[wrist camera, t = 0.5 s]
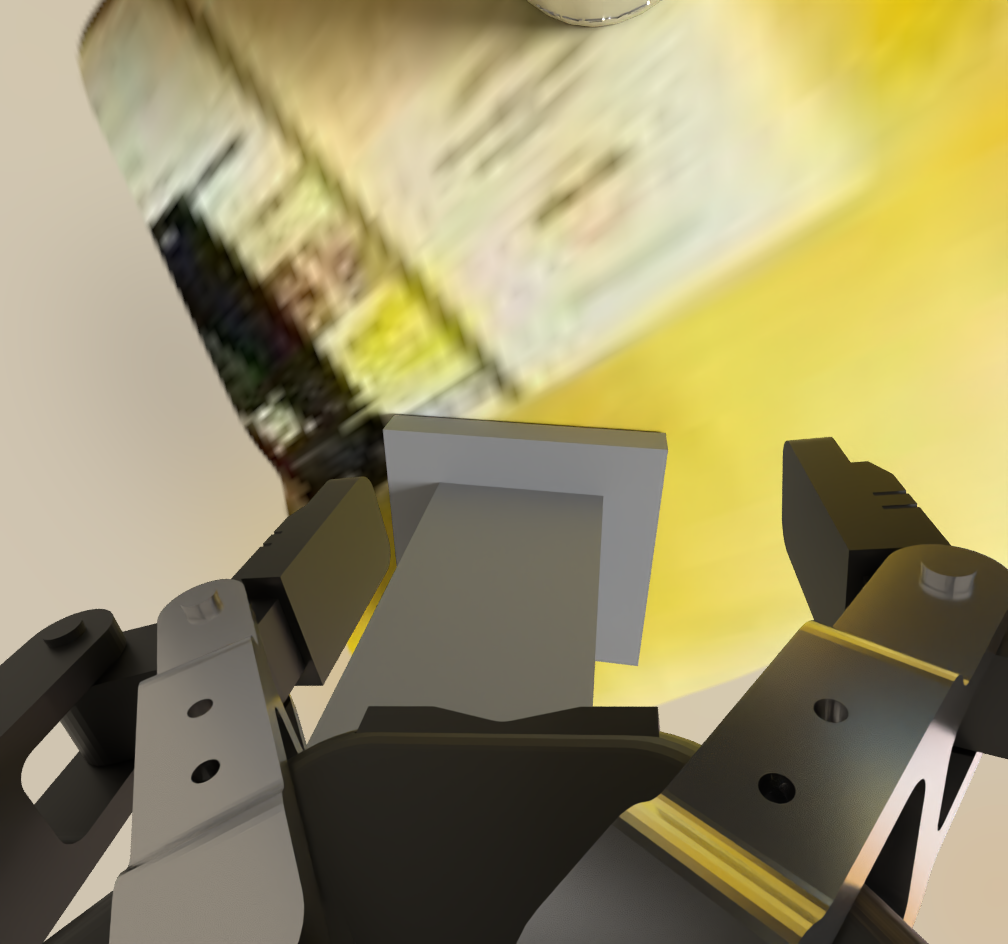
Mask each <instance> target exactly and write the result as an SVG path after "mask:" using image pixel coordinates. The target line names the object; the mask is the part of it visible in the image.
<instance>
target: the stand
mask: <svg viewBox="0 0 1008 944" xmlns="http://www.w3.org/2000/svg"><path fill="white" fill-rule="evenodd" d="M383 435H384V445H385V455H386V465H387V475H388V485H389V494H390V504H391V514H392V524H393V534H394V544H395V553H396V563H397V568H396V570H395V572H394V574H393V576H392V578H391V580H390V582H389V584H388V586H387V588H386V590H385V592H384V594H383V596H382V597H381V599H380V601H379V603H378V605H377V607H376V609H375V611H374V613H373V615H372V617H371V619H370V621H369V623H368V625H367V627H366V629H365V631H364V633H363V635H362V637H361V639H360V641H359V643H358V645H357V647H356V649H355V651H354V653H353V655H352V657H351V659H350V661H349V663H348V665H347V667H346V669H345V671H344V673H343V675H342V677H341V679H340V680H339V683H338V684H337V687H336V688H335V690H334V692H333V694H332V696H331V698H330V700H329V702H328V704H327V706H326V708H325V710H324V712H323V714H322V717H321V718H320V720H319V722H318V724H317V726H316V728H315V730H314V732H313V734H312V736H311V738H310V740H309V742H308V744H307V748H309V747H311V746H313V745H315V744H317V743H319V742H321V741H324V740H326V739H329V738H331V737H333V736H336V735H339V734H342V733H346V732H349V731H353V730H357V729H358V728H359V725H360V723H361V721H362V719H363V717H364V714H365V712H366V710H367V708H368V706H435V707H439V708H443V709H448V710H452V711H456V712H460V713H464V714H468V715H473V716H477V717H481V718H485V719H489V720H493V721H499V722H505V721H512V720H517V719H522V718H527V717H532V716H537V715H542V714H546V713H551V712H556V711H561V710H566V709H571V708H576V707H593V690H594V670H595V661H601V662H609V663H617V664H626V665H634V666H638V660H639V653H640V646H641V639H642V632H643V625H644V617H645V610H646V603H647V596H648V589H649V582H650V575H651V567H652V560H653V553H654V546H655V539H656V532H657V524H658V517H659V510H660V503H661V496H662V489H663V481H664V474H665V467H666V460H667V453H668V447H667V440H666V433H657V432H642V431H627V430H613V429H598V428H583V427H568V426H554V425H539V424H524V423H509V422H495V421H480V420H465V419H450V418H436V417H421V416H406V415H394V416H393V417H392V418H391V420H390V421H389V422H388V424H387V425H386V426H385V427H384V429H383Z"/></svg>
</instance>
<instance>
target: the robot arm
mask: <svg viewBox="0 0 1008 944" xmlns="http://www.w3.org/2000/svg"><path fill="white" fill-rule="evenodd" d="M527 1H528V2H529V3H531V4H532V5H534V6H535V7H536V8H538V9H539V10H541V11H542V12H544V13H545V14H546V15H548V16H550V17H553V18H555V19H558V20H560V21H563V22H566V23H568V24H572V25H581V26H591V27H597V26H603V25H610V24H617V23H620V22H623V21H625V20H628V19H630V18H633V17H635V16H638V15H640V14H642V13H644V12H645V11H647V10H648V9H650V8H651V7H653V6H654V5H656V4H657V3H658V2H660V1H661V0H527ZM782 527H783V536H784V542H785V546H786V550H787V553H788V555H789V558H790V560H791V563H792V565H793V568H794V570H795V573H796V575H797V578H798V580H799V583H800V585H801V588H802V590H803V593H804V596H805V598H806V601H807V603H808V606H809V608H810V611H811V613H812V616H813V618H814V620H811V621H808V622H807V623H805V624H804V625H803V626H802V627H801V628H800V629H799V630H798V631H797V633H796V634H795V635H794V636H793V637H792V639H791V640H790V641H789V642H788V643H787V644H786V646H785V647H784V648H783V649H782V650H781V652H780V653H779V654H778V655H777V656H776V658H775V659H774V660H773V661H772V662H771V663H770V665H769V666H768V667H767V668H766V669H765V671H764V672H763V673H762V674H761V675H760V677H759V678H758V679H757V680H756V681H755V683H754V684H753V685H752V686H751V687H750V688H749V690H748V691H747V692H746V693H745V694H744V696H743V697H742V698H741V699H740V701H739V702H738V703H737V704H736V705H735V706H734V707H733V709H732V710H731V711H730V712H729V713H728V715H727V716H726V717H725V718H724V719H723V721H722V722H721V723H720V724H719V725H718V727H717V728H716V729H715V730H714V731H713V733H712V734H711V735H710V736H709V737H708V738H707V740H706V741H705V742H704V743H703V744H702V745H700V744H698V743H696V742H694V741H691V740H688V739H685V738H682V737H679V736H676V735H672V734H668V733H664V732H661V731H660V726H659V715H658V707H576V708H571V709H566V710H561V711H556V712H551V713H546V714H542V715H537V716H532V717H527V718H522V719H517V720H512V721H505V722H499V721H493V720H489V719H485V718H481V717H477V716H473V715H468V714H464V713H460V712H456V711H452V710H448V709H443V708H439V707H435V706H368V708H367V710H366V712H365V714H364V717H363V719H362V721H361V723H360V725H359V728H358V729H357V730H353V731H349V732H346V733H342V734H339V735H336V736H333V737H331V738H329V739H326V740H324V741H321V742H319V743H317V744H315V745H313V746H311V747H309V748H307V745H306V741H305V738H304V734H303V731H302V727H301V724H300V720H299V717H298V714H297V710H296V707H295V705H294V702H293V700H292V698H291V695H290V692H291V691H292V689H293V687H294V686H323V685H324V683H325V681H326V679H327V677H328V676H329V674H330V672H331V670H332V669H333V667H334V665H335V663H336V661H337V660H338V658H339V656H340V654H341V652H342V651H343V649H344V647H345V645H346V644H347V642H348V640H349V638H350V636H351V635H352V633H353V631H354V629H355V628H356V626H357V624H358V622H359V620H360V619H361V617H362V615H363V613H364V611H365V610H366V608H367V606H368V604H369V603H370V601H371V599H372V597H373V595H374V594H375V592H376V590H377V588H378V586H379V585H380V583H381V581H382V579H383V578H384V576H385V574H386V572H387V570H388V567H389V563H390V544H389V539H388V536H387V533H386V529H385V526H384V522H383V519H382V516H381V512H380V509H379V506H378V502H377V499H376V495H375V492H374V489H373V486H372V484H371V482H370V481H369V479H368V478H366V477H353V478H341V479H330V480H328V481H327V482H326V483H325V484H324V486H323V487H322V488H321V489H320V490H319V491H318V492H317V493H316V495H315V496H314V497H313V498H312V499H311V500H310V501H309V502H308V504H307V505H305V506H304V507H302V508H301V509H299V510H298V511H296V512H295V513H293V514H292V515H290V516H289V517H287V518H286V519H285V520H284V522H283V523H282V524H281V525H280V526H279V527H278V528H277V529H276V530H275V531H274V535H271V536H270V537H269V538H268V539H267V540H266V541H265V542H264V543H263V547H260V548H259V549H258V550H257V551H256V552H255V553H254V554H253V556H252V557H251V558H250V559H249V560H248V561H247V562H246V563H245V564H244V566H242V568H241V569H240V570H239V571H238V572H237V573H236V574H235V575H234V576H233V578H232V579H220V580H215V581H211V582H207V583H204V584H201V585H199V586H196V587H194V588H191V589H190V590H188V591H186V592H184V593H182V594H181V595H179V596H178V597H176V598H175V599H173V600H172V601H171V602H170V603H169V604H168V605H166V607H165V608H164V609H163V610H162V611H161V613H160V615H159V617H158V621H157V623H156V624H152V625H149V626H144V627H140V628H136V629H132V630H128V631H124V632H122V631H121V629H120V627H119V625H118V623H117V622H116V620H115V618H114V616H113V614H112V613H111V612H110V611H108V610H105V609H93V610H87V611H83V612H80V613H76V614H73V615H71V616H68V617H66V618H63V619H61V620H59V621H57V622H55V623H54V624H51V625H50V626H48V627H46V628H45V629H43V630H42V631H40V632H39V633H37V634H36V635H35V636H34V637H32V638H31V639H30V640H29V641H28V642H27V643H25V644H24V645H23V646H22V647H21V648H20V649H19V650H17V651H16V652H15V653H14V654H13V655H12V656H11V657H9V658H8V659H7V660H6V661H5V662H4V663H3V664H1V665H0V944H928V943H927V942H926V941H925V940H924V939H923V938H922V937H921V936H920V935H919V934H917V932H915V931H914V930H913V929H912V928H913V925H914V923H915V920H916V917H917V915H918V912H919V909H920V906H921V904H922V901H923V897H924V894H925V891H926V888H927V884H928V881H929V877H930V874H931V871H932V868H933V865H934V862H935V860H936V857H937V855H938V852H939V850H940V848H941V845H942V843H943V841H944V839H945V837H946V834H947V832H948V830H949V827H950V826H951V823H952V821H953V819H954V817H955V815H956V812H957V810H958V808H959V806H960V803H961V801H962V799H963V797H964V795H965V792H966V790H967V788H968V786H969V784H970V781H971V779H972V777H973V775H974V773H975V770H976V768H977V766H978V764H979V762H980V759H981V757H982V754H983V753H985V754H989V755H993V756H997V757H1001V758H1005V759H1008V569H1007V568H1005V567H1004V566H1003V565H1002V564H1000V563H999V562H997V561H995V560H994V559H992V558H990V557H988V556H986V555H983V554H980V553H978V552H975V551H972V550H968V549H965V548H960V547H955V546H951V545H950V544H949V542H948V541H947V540H946V539H945V538H944V536H943V535H942V534H941V533H940V531H939V530H938V529H937V528H936V526H935V525H934V524H933V523H932V522H931V520H930V519H929V518H928V517H927V515H926V514H925V513H924V512H923V511H922V509H921V508H920V507H917V503H916V502H915V501H914V500H913V498H912V497H911V496H910V495H909V494H906V490H905V489H904V487H903V486H902V485H901V484H900V482H899V481H898V480H897V479H896V477H895V476H894V475H893V474H892V473H890V472H888V471H886V470H884V469H882V468H880V467H878V466H876V465H874V464H872V463H870V462H868V461H865V462H852V463H851V462H850V461H849V460H848V458H847V457H846V455H845V454H844V453H843V451H842V450H841V448H840V447H839V446H838V444H837V443H836V441H835V440H834V439H833V438H832V437H824V438H813V439H801V440H790V441H786V442H785V444H784V448H783V482H782ZM59 721H60V722H61V723H62V725H63V726H64V728H65V729H66V731H67V732H68V734H69V736H70V737H71V739H72V740H73V742H74V743H75V745H76V746H77V748H78V749H79V752H78V753H77V755H76V756H75V757H74V758H73V759H72V760H71V762H70V763H69V764H68V765H67V766H66V768H65V769H64V770H63V771H62V772H61V774H60V775H59V776H58V777H57V778H56V779H55V781H54V782H53V783H52V784H51V785H50V787H49V788H48V789H47V790H46V791H45V793H44V794H43V795H42V796H41V797H40V799H39V800H38V801H37V802H36V803H35V804H33V803H32V801H31V800H30V799H29V797H28V796H27V795H26V793H25V792H24V790H23V788H22V785H21V773H22V768H23V765H24V763H25V761H26V759H27V757H28V756H29V754H30V753H31V752H32V750H33V749H34V748H35V747H36V746H37V745H38V744H39V743H40V742H41V741H42V740H43V739H44V737H45V736H46V735H47V734H48V733H49V732H50V731H51V730H52V729H53V728H54V727H55V726H56V725H57V723H58V722H59ZM131 813H132V834H131V835H132V836H131V855H130V862H129V865H128V868H127V869H126V870H125V871H123V872H122V873H120V875H119V876H118V877H117V880H116V882H115V886H114V890H113V891H112V892H110V893H109V894H108V895H106V896H105V897H104V898H102V899H101V900H100V901H98V902H97V903H96V904H94V905H93V906H92V907H90V908H89V909H88V910H86V911H85V912H84V913H82V914H81V915H80V916H78V917H77V918H75V919H74V920H73V921H71V922H70V923H69V924H68V925H66V926H65V927H63V928H62V929H61V930H59V931H58V932H57V933H55V934H54V935H53V936H52V937H50V938H49V939H47V940H46V941H45V942H44V940H45V939H46V937H47V936H48V934H49V933H50V932H51V930H52V929H53V927H54V926H55V924H56V923H57V921H58V920H59V918H60V917H61V915H62V914H63V912H64V911H65V910H66V908H67V907H68V905H69V904H70V902H71V901H72V899H73V898H74V896H75V895H76V893H77V892H78V890H79V889H80V887H81V886H82V884H83V883H84V882H85V880H86V879H87V877H88V876H89V874H90V873H91V872H92V870H93V869H94V867H95V866H96V864H97V863H98V861H99V859H100V858H101V857H102V855H103V854H104V852H105V851H106V849H107V848H108V846H109V845H110V844H111V842H112V841H113V839H114V838H115V836H116V835H117V833H118V832H119V831H120V829H121V828H122V826H123V825H124V823H125V822H126V820H127V819H128V817H129V816H130V814H131Z"/></svg>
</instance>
